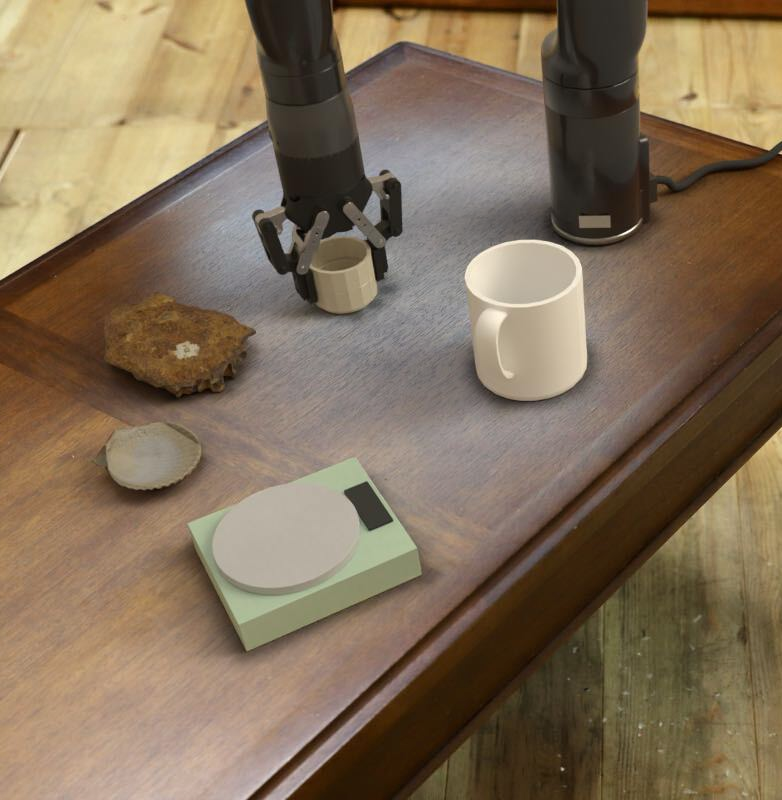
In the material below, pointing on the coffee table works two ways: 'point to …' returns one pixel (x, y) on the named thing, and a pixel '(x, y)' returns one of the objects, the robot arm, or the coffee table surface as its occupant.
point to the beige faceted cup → (343, 274)
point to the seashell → (150, 455)
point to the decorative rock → (175, 344)
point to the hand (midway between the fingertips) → (344, 287)
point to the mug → (527, 319)
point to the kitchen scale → (303, 551)
